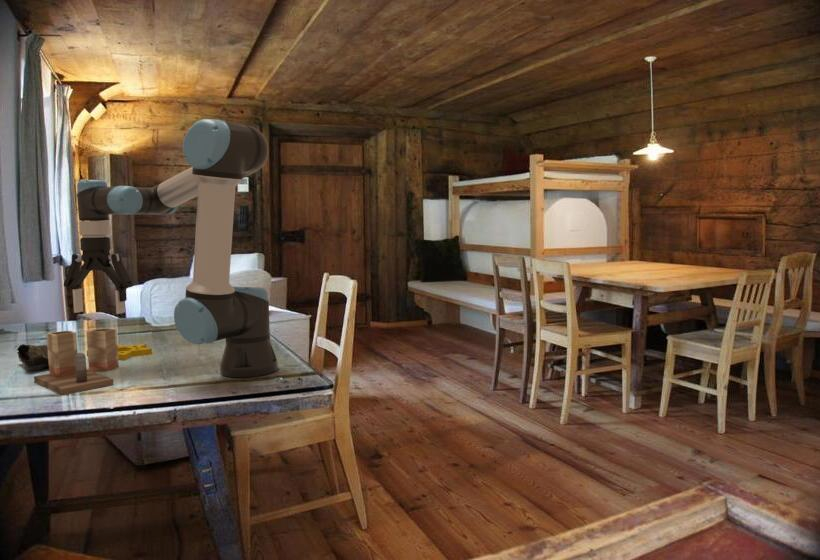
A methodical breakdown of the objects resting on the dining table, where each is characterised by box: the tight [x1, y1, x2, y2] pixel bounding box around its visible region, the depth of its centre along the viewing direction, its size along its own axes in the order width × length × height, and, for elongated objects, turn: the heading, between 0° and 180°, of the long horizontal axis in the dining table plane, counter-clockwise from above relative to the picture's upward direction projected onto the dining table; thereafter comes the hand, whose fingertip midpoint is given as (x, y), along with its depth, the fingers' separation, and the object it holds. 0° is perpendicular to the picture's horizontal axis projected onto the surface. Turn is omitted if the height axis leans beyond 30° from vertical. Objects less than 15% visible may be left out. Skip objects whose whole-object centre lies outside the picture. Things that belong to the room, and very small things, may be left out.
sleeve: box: [86, 327, 120, 372], centre depth 178 cm, size 5×5×11 cm
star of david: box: [86, 343, 153, 362], centre depth 198 cm, size 20×17×2 cm
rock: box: [16, 343, 49, 368], centre depth 185 cm, size 18×10×15 cm
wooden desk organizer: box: [33, 330, 114, 396], centre depth 162 cm, size 20×12×12 cm, turn 47°
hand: (99, 312), depth 178 cm, fingers open, 13 cm apart
